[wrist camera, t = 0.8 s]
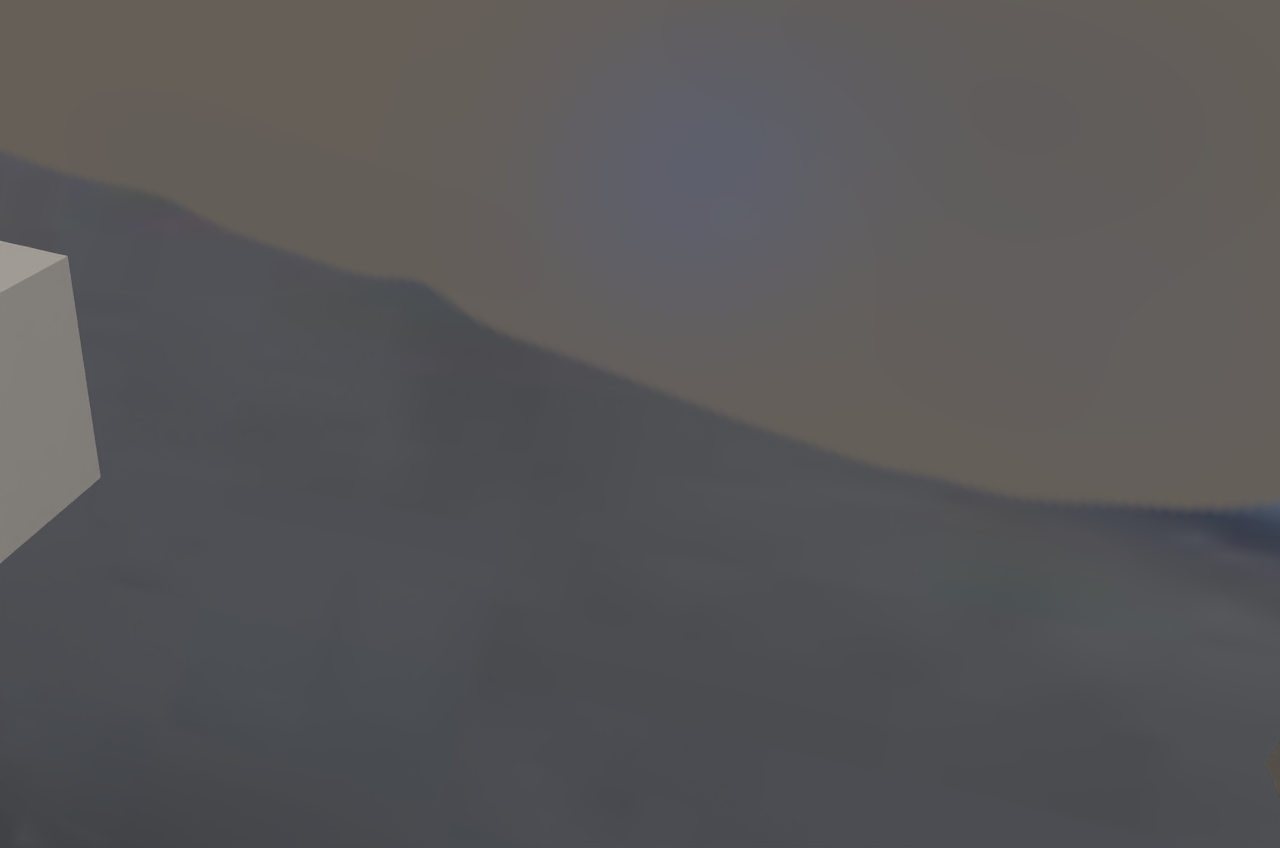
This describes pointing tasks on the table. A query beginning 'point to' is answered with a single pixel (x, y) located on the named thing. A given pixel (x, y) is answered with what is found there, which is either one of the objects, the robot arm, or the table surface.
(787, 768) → the table surface
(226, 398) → the table surface
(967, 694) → the table surface
